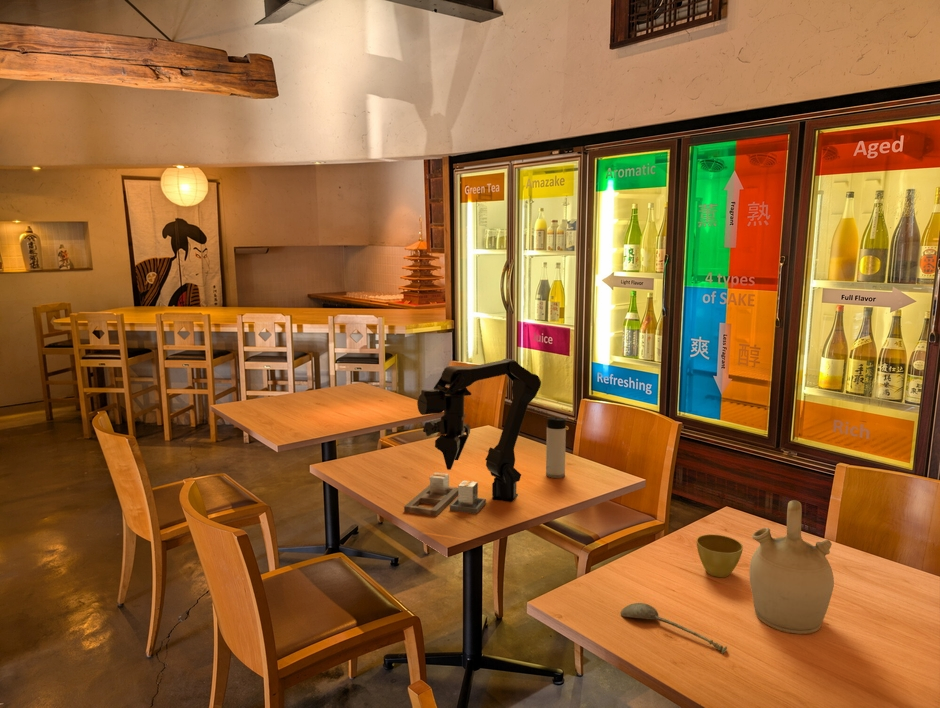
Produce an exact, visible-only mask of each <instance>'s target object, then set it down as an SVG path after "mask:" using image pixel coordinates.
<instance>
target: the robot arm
mask: <svg viewBox="0 0 940 708" xmlns="http://www.w3.org/2000/svg"><path fill="white" fill-rule="evenodd" d="M504 375H505V376H506V377H507V378H508V379H509V380H510V381H511V382H512V384H511V392H512V401H511V404H510V406H509V410H508V412H507V415H506V419H505V422H504V426H503V428H502V431H501V434H500V438H499V439H498V443H497V444H496V446H495V447H494V448H493V447H489V449H488V450H487V451H488V453H487V456H486V457H485V462H486V463H485V467H486V468H487V470H488V471H489V473H490V476H492V477H494V478H493V482H492V484H491V487H492V489H491V490H492V491H491V494H492V498H491V500H492V501H501V502H507V503H513V502H514V501H515V500H516V498H517V497H518V495H519V493H517V482H520V480H521V476H522V474H521V473H520V472H519V471H518V470H517V469H516V468H515V464H516V456H515V447H516V445H517V440H518V437H519V434H520V431H521V428H522V424H523V422H524V418H525V415H526V413H527V409H528V406H529V404H530V403H531V402H532V401H533V399H534V398H536V397H537V394H538V392H539V391H540V388H541V387H542V386H541V384H542V381H541V379H540V377H539V376H538V375H537V374H536V373H531V372H530V371H529V370H528V369H526V368H524V367H523V366H522V365H520V364H519V363H518V362H517V361H516V360H514V359H510V358H504V359H501V360H496V361H490V362H488V363H483V364H478V365H474V366H462V365H454V366H453V365H449V366H446V367H445V368H444V369H443V371H442V373H441V376H440V377H439V379H438V381H437V382H436V383H435V385H434V386H433V389H421V394H420V395H419V396H418V398H417V401H416V402H417V404H416V405H417V410H418V412H419V414H420V415H422V416H425V415H436V414H442V413H443V414H442V415H441V417H440V418H438V419H434V420H430V421H426V422H425V423H424V424H423V425H422V426H423V427H422V428H423V429H422V432H424V433H425V436H426V437H429V436H431V435H434V434H437V433H438V434H439V433H440V435H439V436H438V437H437V438H436V439H435V440H434V447H435V448H436V449H437V450H439V451H440V452H441V453H442V455H443V459H444V462H445V463H444V464H445V467H446V469H447V470H448V471H450V470H452V468H453V465H454V463H455V461H459V459H460V458H461V457H460V456H461V454H462V451H464V447H465V445H466V443H467V440H468V438H469V436H470V434H471V426H470V425H469V424H468V423H465V418H466V413H465V396H466V397H467V396H471V395H472V392H471V391H470V390H468V388H467V387H470V386H472V385H473V384H474V383H475V382H477V381H478V382H479V381H481V380H486V379H490V378H495V377H499V376H504Z"/></svg>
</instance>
